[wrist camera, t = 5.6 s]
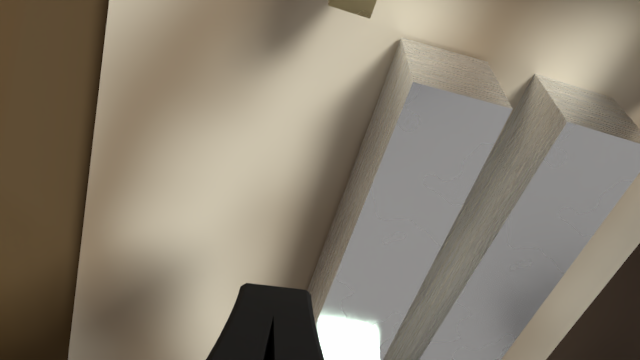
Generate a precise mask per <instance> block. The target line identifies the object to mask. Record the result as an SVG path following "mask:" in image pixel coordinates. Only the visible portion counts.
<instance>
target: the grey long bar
mask: <svg viewBox="0 0 640 360" xmlns="http://www.w3.org/2000/svg"><path fill="white" fill-rule="evenodd" d="M639 173H640V129H639V128H638V126H637V125H636V124H635V123H634V122H633V121H632V119H631V118H630V117H629V116H628V115H627V114H626V113H625V111H624V110H623V109H622V108H621V107H620V106H619V104H618V103H617V102H616V101H615V100H614V99H613V98H611V97H607V96H604V95H601V94H598V93H595V92H592V91H588V90H585V89H582V88H579V87H576V86H573V85H569V84H566V83H563V82H560V81H557V80H554V79H550V78H547V77H544V76H541V75H538V74H534V76H533V78H532V80H531V81H530V83H529V85H528V87H527V88H526V90H525V92H524V94H523V96H522V97H521V99H520V101H519V103H518V105H517V106H516V108H515V110H514V112H513V114H512V115H511V117H510V119H509V121H508V123H507V124H506V126H505V128H504V130H503V131H502V133H501V135H500V137H499V139H498V140H497V142H496V144H495V146H494V148H493V149H492V151H491V153H490V155H489V157H488V158H487V160H486V162H485V164H484V165H483V167H482V169H481V171H480V173H479V175H478V177H477V179H476V181H475V183H474V185H473V187H472V189H471V191H470V192H469V194H468V196H467V198H466V200H465V202H464V204H463V206H462V208H461V210H460V212H459V214H458V216H457V218H456V220H455V221H454V223H453V225H452V227H451V229H450V231H449V233H448V235H447V237H446V239H445V241H444V243H443V245H442V247H441V249H440V250H439V252H438V254H437V256H436V258H435V260H434V262H433V264H432V266H431V268H430V270H429V272H428V274H427V276H426V277H425V279H424V281H423V283H422V285H421V287H420V289H419V291H418V293H417V295H416V297H415V299H414V301H413V303H412V305H411V306H410V308H409V310H408V312H407V314H406V316H405V318H404V320H403V322H402V324H401V326H400V328H399V330H398V332H397V334H396V335H395V337H394V339H393V341H392V343H391V345H390V347H389V349H388V351H387V353H386V355H385V357H384V359H383V360H501V359H502V358H503V356H504V355H505V354H506V352H507V351H508V350H509V348H510V347H511V346H512V344H513V343H514V342H515V340H516V339H517V338H518V336H519V335H520V334H521V332H522V331H523V329H524V328H525V327H526V325H527V324H528V323H529V321H530V320H531V319H532V317H533V316H534V315H535V313H536V312H537V311H538V309H539V308H540V306H541V305H542V304H543V302H544V301H545V300H546V298H547V297H548V296H549V294H550V293H551V292H552V290H553V289H554V288H555V286H556V285H557V284H558V282H559V281H560V279H561V278H562V277H563V275H564V274H565V273H566V271H567V270H568V269H569V267H570V266H571V265H572V263H573V262H574V261H575V259H576V258H577V257H578V255H579V254H580V252H581V251H582V250H583V248H584V247H585V246H586V244H587V243H588V242H589V240H590V239H591V238H592V236H593V235H594V234H595V232H596V231H597V229H598V228H599V227H600V225H601V224H602V223H603V221H604V220H605V219H606V217H607V216H608V215H609V213H610V212H611V211H612V209H613V208H614V207H615V205H616V204H617V202H618V201H619V200H620V198H621V197H622V196H623V194H624V193H625V192H626V190H627V189H628V188H629V186H630V185H631V184H632V182H633V181H634V180H635V178H636V177H637V175H638V174H639Z"/></svg>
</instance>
